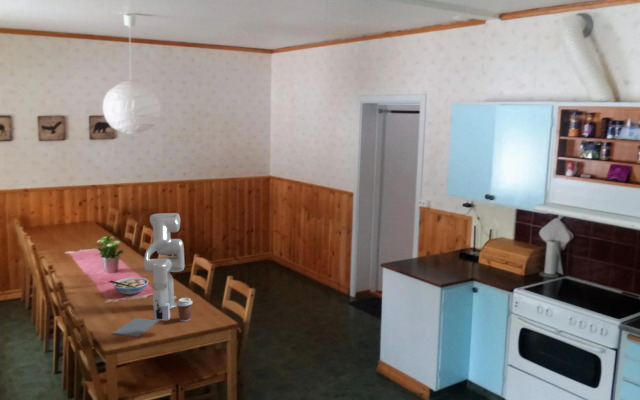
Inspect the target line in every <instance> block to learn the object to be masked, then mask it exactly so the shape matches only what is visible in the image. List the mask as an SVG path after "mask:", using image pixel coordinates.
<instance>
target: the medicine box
mask: <svg viewBox="0 0 640 400" xmlns="http://www.w3.org/2000/svg"><path fill="white" fill-rule="evenodd" d="M158 306H159V305H158ZM158 309H159V310H160V308H158ZM161 312H162V319H157V318H156V311H155V310H154V309H153V320H158V321H169V320H170V319H171V309H170V303H166V304H165V305H164V306H162V309H161Z"/></svg>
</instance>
